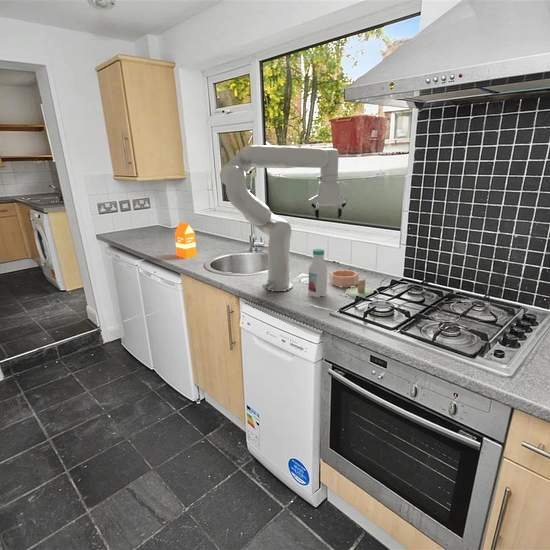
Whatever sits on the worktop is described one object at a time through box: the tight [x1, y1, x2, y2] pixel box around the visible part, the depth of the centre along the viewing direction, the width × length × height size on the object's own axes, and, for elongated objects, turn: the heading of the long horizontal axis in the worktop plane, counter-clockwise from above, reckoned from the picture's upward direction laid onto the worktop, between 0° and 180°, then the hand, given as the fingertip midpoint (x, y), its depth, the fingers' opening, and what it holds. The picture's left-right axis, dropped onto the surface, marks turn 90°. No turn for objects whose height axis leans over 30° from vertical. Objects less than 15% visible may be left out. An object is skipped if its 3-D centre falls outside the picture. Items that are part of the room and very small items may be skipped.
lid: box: [345, 278, 375, 298], centre depth 153 cm, size 13×13×6 cm
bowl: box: [329, 269, 360, 288], centre depth 166 cm, size 12×12×5 cm
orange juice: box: [174, 222, 197, 259], centre depth 213 cm, size 8×9×20 cm
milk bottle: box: [307, 248, 328, 298], centre depth 151 cm, size 8×8×20 cm
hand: (328, 217), depth 163 cm, fingers open, 9 cm apart
